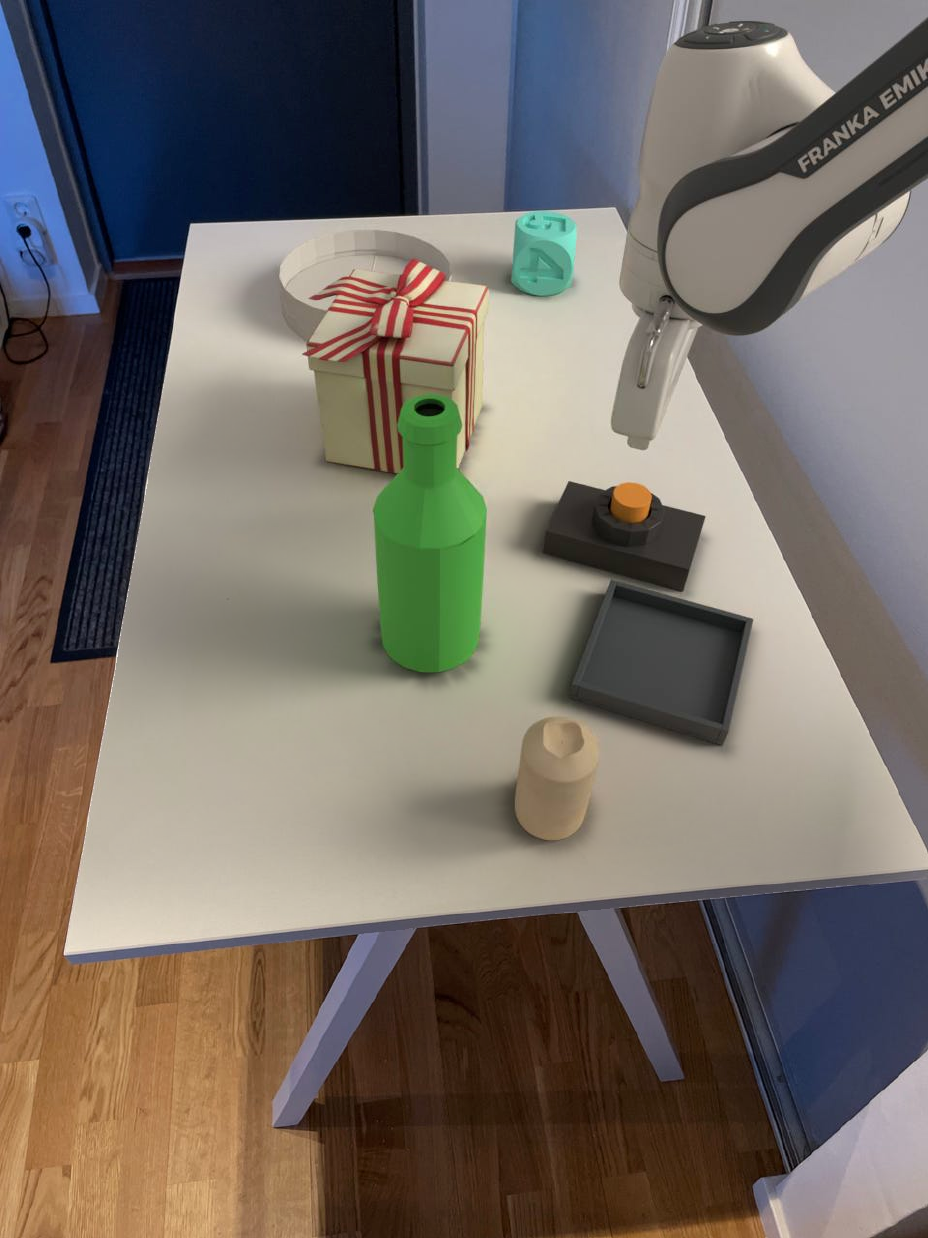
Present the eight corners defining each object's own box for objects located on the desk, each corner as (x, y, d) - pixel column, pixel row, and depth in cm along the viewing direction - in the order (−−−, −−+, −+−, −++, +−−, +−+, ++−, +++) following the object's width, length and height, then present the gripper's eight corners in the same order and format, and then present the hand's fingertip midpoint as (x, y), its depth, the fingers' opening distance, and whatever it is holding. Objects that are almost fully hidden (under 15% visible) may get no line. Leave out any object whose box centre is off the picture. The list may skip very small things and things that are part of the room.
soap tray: (748, 633, 84) (753, 618, 82) (722, 746, 76) (728, 732, 74) (608, 593, 87) (611, 578, 85) (568, 698, 79) (571, 684, 77)
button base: (699, 537, 92) (710, 500, 88) (683, 591, 87) (694, 554, 83) (565, 502, 95) (570, 464, 92) (542, 553, 90) (547, 514, 86)
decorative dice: (570, 298, 123) (577, 240, 117) (510, 294, 123) (514, 236, 117) (570, 268, 128) (576, 211, 122) (512, 265, 128) (516, 208, 122)
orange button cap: (651, 504, 89) (655, 487, 87) (643, 527, 86) (646, 511, 85) (615, 494, 89) (618, 478, 88) (605, 517, 87) (609, 501, 86)
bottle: (459, 595, 86) (466, 362, 68) (494, 662, 81) (513, 430, 62) (368, 618, 84) (350, 385, 65) (399, 690, 79) (388, 458, 60)
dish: (297, 260, 128) (293, 225, 124) (456, 267, 127) (457, 232, 124) (268, 349, 113) (262, 311, 109) (447, 357, 113) (448, 320, 109)
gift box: (330, 383, 108) (316, 241, 95) (485, 400, 107) (492, 258, 94) (290, 475, 97) (268, 328, 84) (463, 495, 96) (467, 349, 83)
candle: (499, 806, 71) (507, 733, 64) (548, 766, 74) (561, 691, 66) (550, 855, 69) (564, 785, 61) (599, 812, 71) (619, 739, 64)
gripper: (695, 347, 62) (657, 502, 73) (743, 220, 75) (706, 366, 86) (604, 328, 64) (581, 482, 74) (667, 206, 77) (639, 352, 87)
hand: (648, 419), depth 80 cm, fingers open, 6 cm apart
